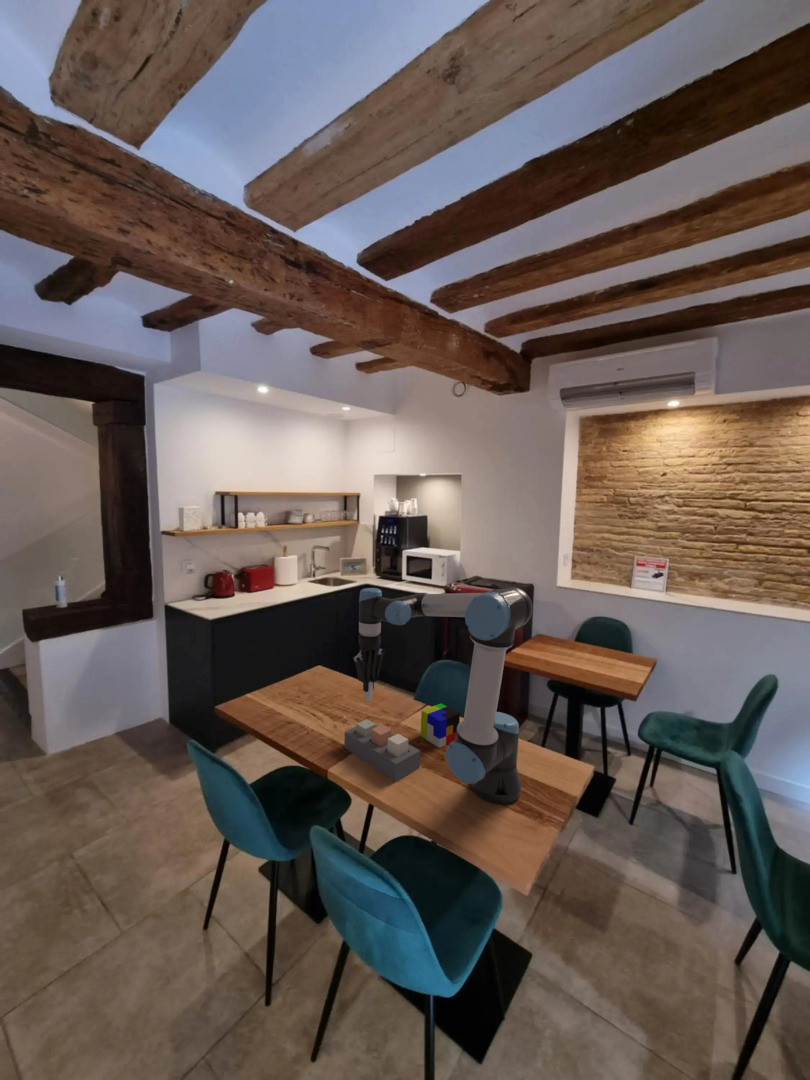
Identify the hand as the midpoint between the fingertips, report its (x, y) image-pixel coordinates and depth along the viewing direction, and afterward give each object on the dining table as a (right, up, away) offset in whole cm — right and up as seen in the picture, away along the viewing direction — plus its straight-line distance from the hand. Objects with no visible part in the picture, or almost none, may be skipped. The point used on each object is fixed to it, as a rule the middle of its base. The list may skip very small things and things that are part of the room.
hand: (368, 699), depth 158 cm
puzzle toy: (+26, -18, +11) cm, 33 cm away
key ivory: (+10, -17, -9) cm, 22 cm away
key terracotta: (+5, -16, -3) cm, 17 cm away
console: (+4, -19, -3) cm, 20 cm away
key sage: (-1, -17, +2) cm, 17 cm away
